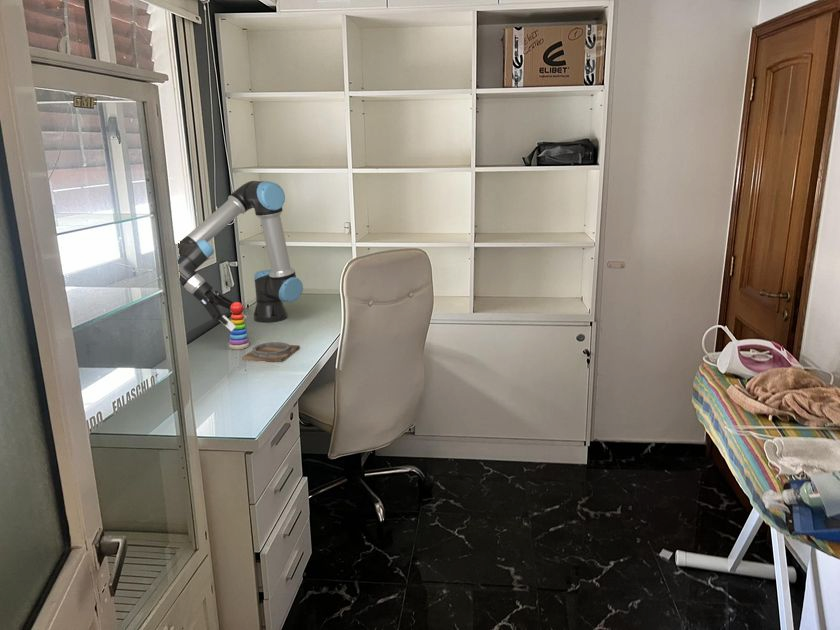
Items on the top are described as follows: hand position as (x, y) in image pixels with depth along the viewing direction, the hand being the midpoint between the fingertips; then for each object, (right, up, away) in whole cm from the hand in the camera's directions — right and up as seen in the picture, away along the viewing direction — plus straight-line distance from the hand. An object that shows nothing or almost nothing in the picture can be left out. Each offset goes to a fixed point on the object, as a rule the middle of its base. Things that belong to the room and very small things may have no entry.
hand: (239, 324), depth 257 cm
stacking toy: (-1, -10, +3) cm, 10 cm away
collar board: (+14, -12, -6) cm, 20 cm away
